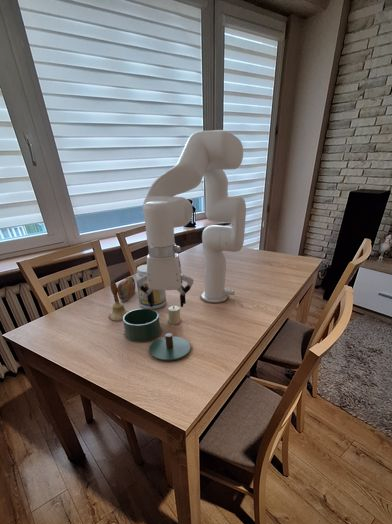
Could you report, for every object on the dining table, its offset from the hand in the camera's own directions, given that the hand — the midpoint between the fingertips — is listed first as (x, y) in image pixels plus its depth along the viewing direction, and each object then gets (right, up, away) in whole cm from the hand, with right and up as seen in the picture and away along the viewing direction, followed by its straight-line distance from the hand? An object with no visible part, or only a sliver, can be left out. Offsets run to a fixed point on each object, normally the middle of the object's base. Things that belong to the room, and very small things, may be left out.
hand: (167, 305), depth 88 cm
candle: (0, -3, +24) cm, 25 cm away
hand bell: (-23, 0, +29) cm, 37 cm away
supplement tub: (-11, +7, +38) cm, 40 cm away
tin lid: (0, -14, +8) cm, 16 cm away
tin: (-24, +11, +46) cm, 53 cm away
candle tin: (-11, -8, +18) cm, 22 cm away
